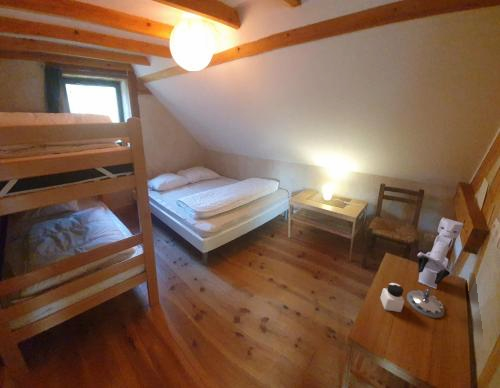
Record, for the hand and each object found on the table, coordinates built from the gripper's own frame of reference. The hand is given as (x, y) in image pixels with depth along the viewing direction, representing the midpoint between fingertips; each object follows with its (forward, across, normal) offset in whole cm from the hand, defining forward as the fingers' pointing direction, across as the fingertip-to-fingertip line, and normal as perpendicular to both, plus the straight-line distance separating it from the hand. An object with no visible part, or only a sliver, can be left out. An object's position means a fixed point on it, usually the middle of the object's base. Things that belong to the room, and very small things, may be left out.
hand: (428, 277), depth 106 cm
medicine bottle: (+17, -4, +14) cm, 22 cm away
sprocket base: (+6, +9, +13) cm, 17 cm away
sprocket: (+5, +8, +12) cm, 15 cm away
